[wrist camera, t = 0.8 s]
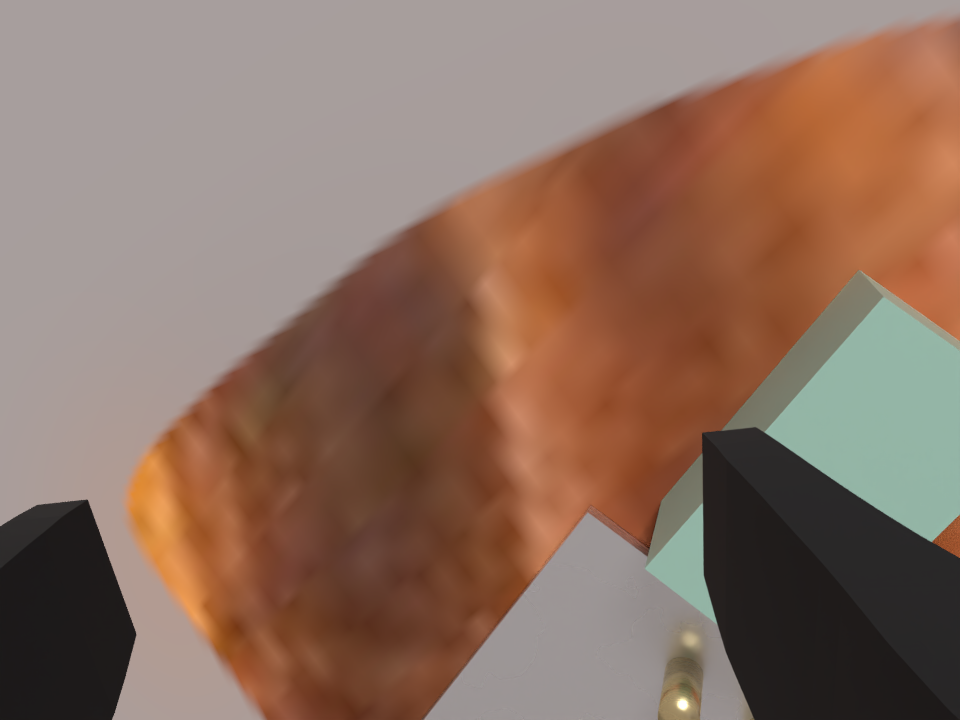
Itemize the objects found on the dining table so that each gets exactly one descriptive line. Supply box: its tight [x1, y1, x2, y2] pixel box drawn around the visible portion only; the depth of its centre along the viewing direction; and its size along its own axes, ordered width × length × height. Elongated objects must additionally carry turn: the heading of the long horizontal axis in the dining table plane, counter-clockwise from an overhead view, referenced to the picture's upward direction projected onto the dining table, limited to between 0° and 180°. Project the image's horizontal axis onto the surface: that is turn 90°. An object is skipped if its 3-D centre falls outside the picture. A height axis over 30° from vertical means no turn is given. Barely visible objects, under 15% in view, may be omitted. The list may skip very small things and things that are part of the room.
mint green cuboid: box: [645, 270, 960, 624], centre depth 24 cm, size 5×9×5 cm, turn 145°
